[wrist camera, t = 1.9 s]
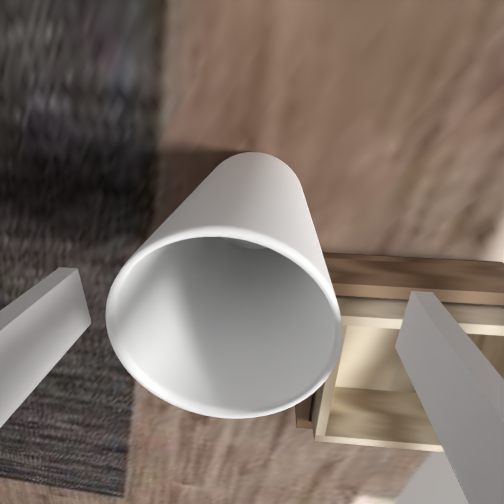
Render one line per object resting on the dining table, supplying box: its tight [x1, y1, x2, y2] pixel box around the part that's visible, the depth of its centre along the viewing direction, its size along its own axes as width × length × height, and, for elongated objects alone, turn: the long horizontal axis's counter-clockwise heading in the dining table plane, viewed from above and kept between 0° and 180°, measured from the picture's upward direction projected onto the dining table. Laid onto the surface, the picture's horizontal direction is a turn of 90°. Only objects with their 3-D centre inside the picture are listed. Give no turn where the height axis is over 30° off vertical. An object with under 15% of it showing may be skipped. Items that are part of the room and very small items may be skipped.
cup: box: [106, 152, 342, 419], centre depth 18 cm, size 8×8×16 cm
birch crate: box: [310, 295, 504, 452], centre depth 26 cm, size 13×13×6 cm
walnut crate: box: [295, 253, 504, 429], centre depth 27 cm, size 16×16×5 cm
